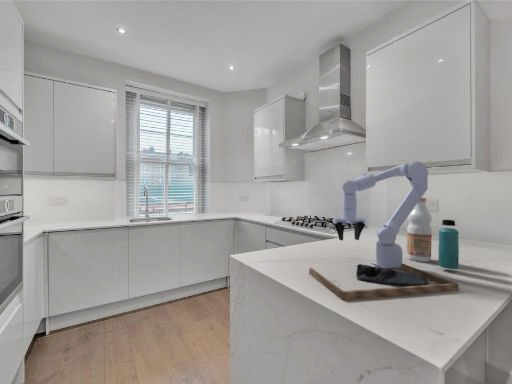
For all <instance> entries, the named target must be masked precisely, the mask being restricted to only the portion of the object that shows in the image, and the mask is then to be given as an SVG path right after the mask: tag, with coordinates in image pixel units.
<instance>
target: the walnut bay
mask: <svg viewBox="0 0 512 384" xmlns="http://www.w3.org/2000/svg"><path fill="white" fill-rule="evenodd" d="M400 269H401V270H404V272H407V273H411V274H416V275H422V276H423V277H424V278H425V279H426V280H427V281H430V282H433V283H435V284H428V285H421V286H407V287H403V286H397V287H396V286H395V287H382V288H369V289H354V290H342V289H341V288H340V287H339V286H337V285H335V284H334V283H333V282H332V281H330V280H328V278H326V277H324V275H322V274H320V273H319V272H318V271H316V269H314V268H309V269H308V271H309V272H308V274H309V275H310V276H311V277H312V278H313V279H315V280H316V281H317V282H319V283H320V284H321V285H323V286H324V287H325V288H326V289H328V291H330V292H332V294H334V295H335V296H336V297H338V298H339V299H340V300H341V301H342V300H344V301H345V300H356V299H357V300H358V299H359V300H360V299H370V298H378V297H379V298H380V297H382V298H383V297H394V296H407V295H421V294H431V293H433V294H434V293H444V292H445V293H446V292H457V291H459V283H456V282H454V281H450V280H448V279H446V278H443V277H440V276H438V275H434V274H432V273H429V272H427V271H424V270H421V269H418V268H416V267H413V266H410V265H408V264H406V263H402V264H401V267H400Z"/></svg>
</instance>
